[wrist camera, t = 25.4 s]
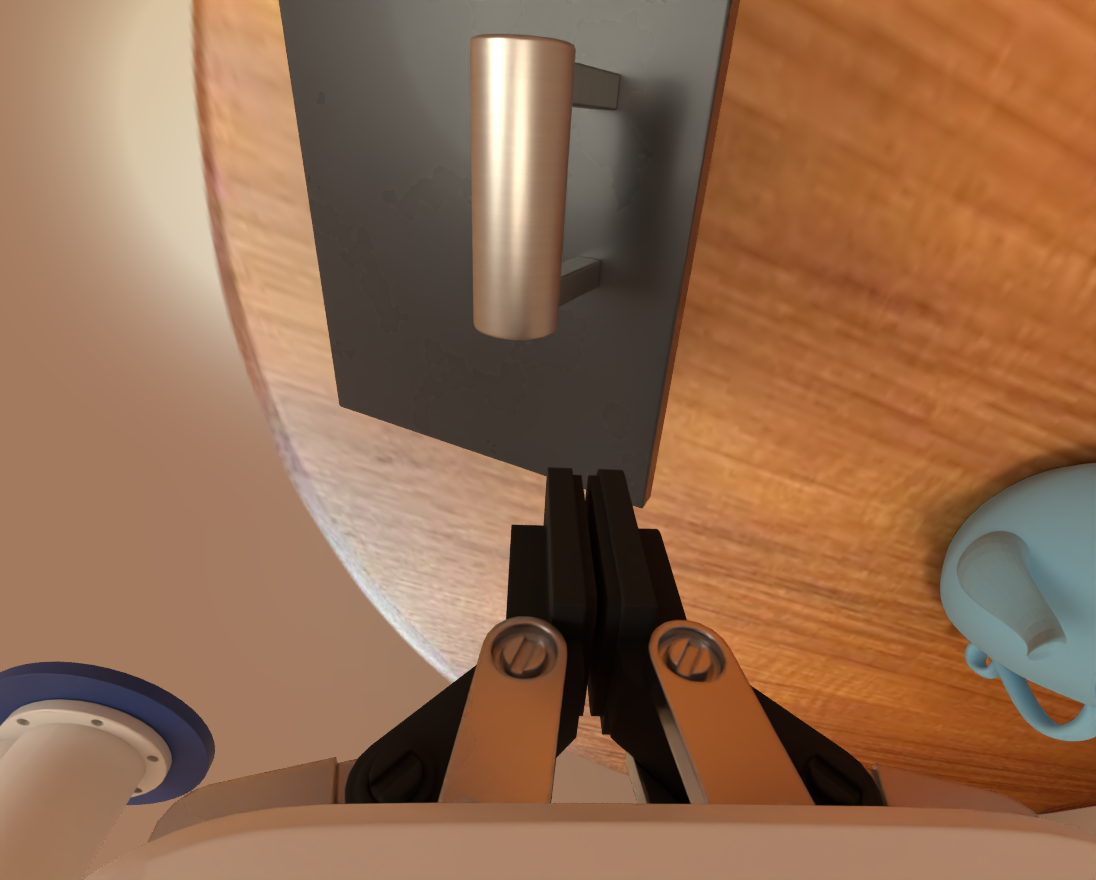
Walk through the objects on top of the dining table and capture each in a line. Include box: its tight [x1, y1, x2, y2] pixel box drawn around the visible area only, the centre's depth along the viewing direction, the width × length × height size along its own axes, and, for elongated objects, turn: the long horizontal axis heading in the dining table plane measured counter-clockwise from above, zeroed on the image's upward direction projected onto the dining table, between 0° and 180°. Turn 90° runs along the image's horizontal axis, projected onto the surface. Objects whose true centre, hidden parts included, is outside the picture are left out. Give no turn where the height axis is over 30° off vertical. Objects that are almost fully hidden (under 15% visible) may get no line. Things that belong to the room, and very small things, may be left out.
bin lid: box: [279, 0, 740, 508], centre depth 13 cm, size 13×18×5 cm
